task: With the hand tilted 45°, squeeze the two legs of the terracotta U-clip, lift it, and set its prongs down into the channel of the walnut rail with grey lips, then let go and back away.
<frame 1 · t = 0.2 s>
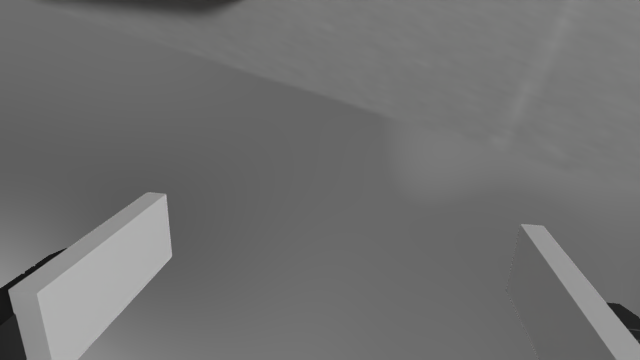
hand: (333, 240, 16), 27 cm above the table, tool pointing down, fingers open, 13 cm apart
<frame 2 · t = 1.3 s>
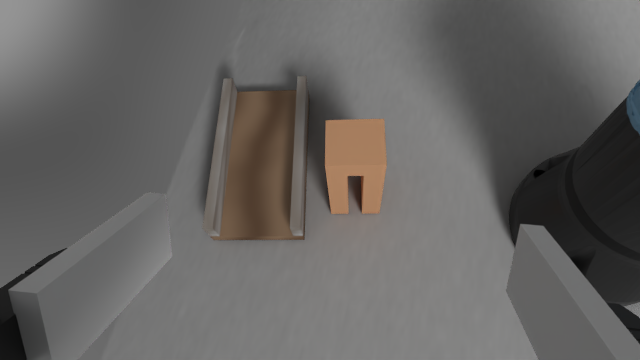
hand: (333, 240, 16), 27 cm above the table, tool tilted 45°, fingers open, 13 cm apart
clip: (354, 194, 46), on the table
rail: (264, 162, 48), on the table
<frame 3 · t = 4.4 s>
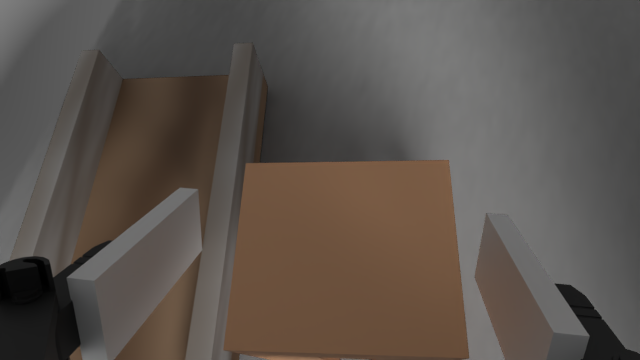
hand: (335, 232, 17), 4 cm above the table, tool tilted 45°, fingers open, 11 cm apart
clip: (356, 314, 20), on the table
rail: (163, 230, 22), on the table
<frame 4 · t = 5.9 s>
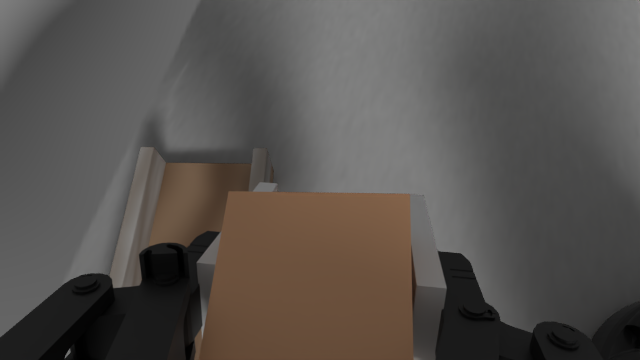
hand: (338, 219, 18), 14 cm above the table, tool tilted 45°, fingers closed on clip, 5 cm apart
clip: (342, 327, 21), point 9 cm above the table, touching gripper
rail: (199, 280, 31), on the table
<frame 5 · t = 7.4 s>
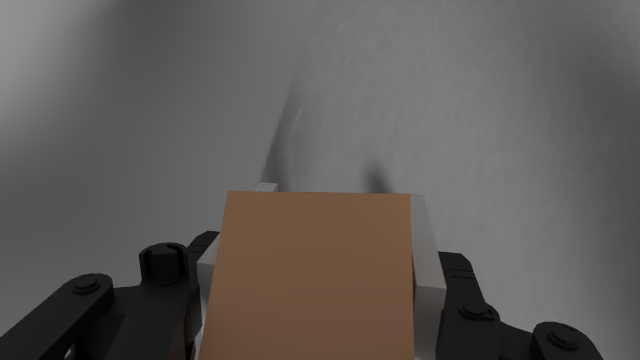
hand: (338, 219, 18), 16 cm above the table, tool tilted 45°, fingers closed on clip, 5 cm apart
clip: (342, 328, 20), point 11 cm above the table, touching gripper
when the fingers open (6 cm above the table, at t = 9.2 s): clip stays where it is, resting on rail.
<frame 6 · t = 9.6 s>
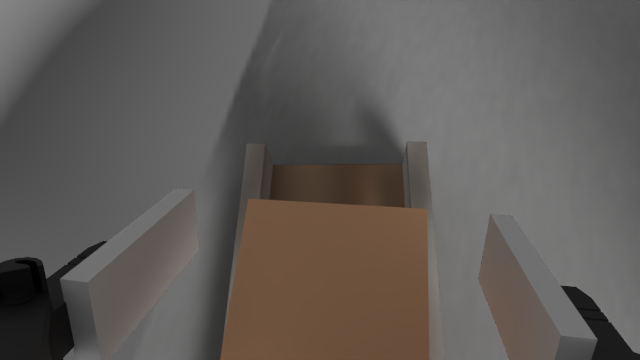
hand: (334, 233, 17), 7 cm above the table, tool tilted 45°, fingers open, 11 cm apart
clip: (341, 330, 21), point 1 cm above the table, touching rail
rail: (335, 329, 22), on the table
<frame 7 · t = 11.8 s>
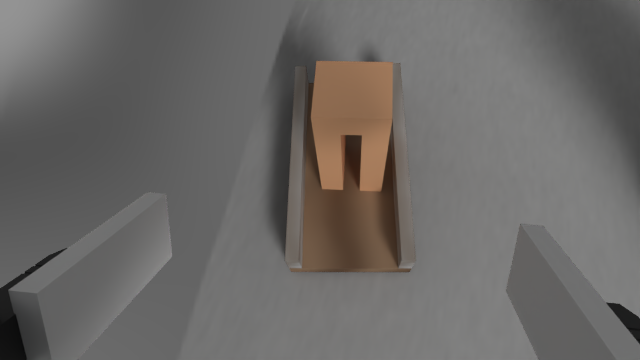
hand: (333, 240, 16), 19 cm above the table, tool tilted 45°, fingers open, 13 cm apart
clip: (352, 167, 37), point 1 cm above the table, touching rail
rail: (348, 171, 38), on the table
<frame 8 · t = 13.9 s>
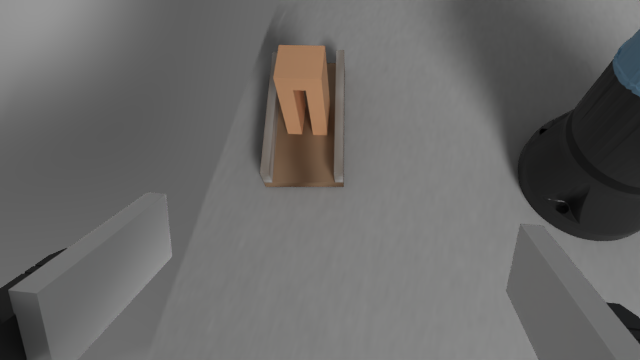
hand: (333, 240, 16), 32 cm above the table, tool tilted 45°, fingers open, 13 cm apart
clip: (309, 119, 55), point 1 cm above the table, touching rail
rail: (307, 124, 56), on the table
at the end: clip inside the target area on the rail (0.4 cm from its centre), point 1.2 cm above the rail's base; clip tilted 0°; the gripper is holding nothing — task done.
